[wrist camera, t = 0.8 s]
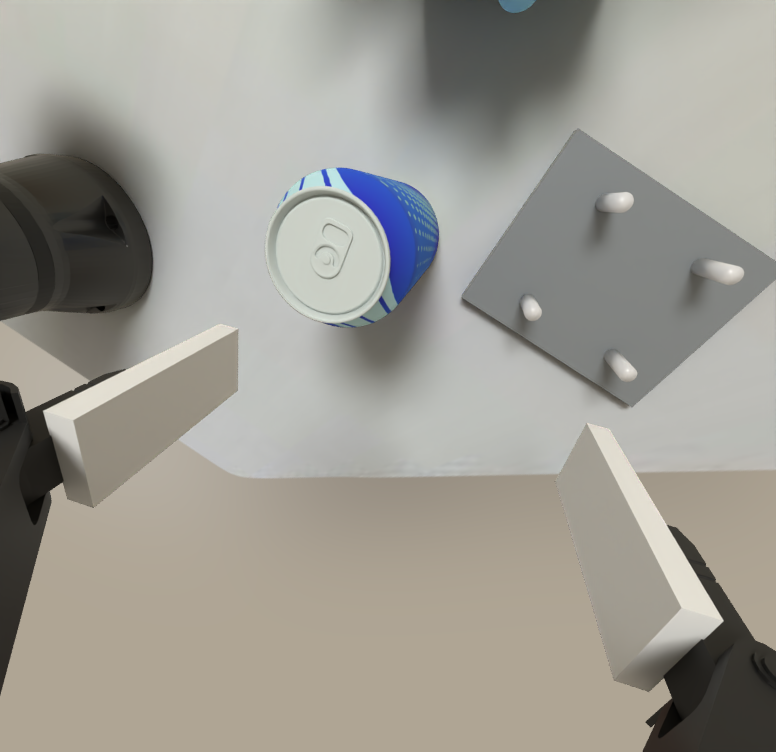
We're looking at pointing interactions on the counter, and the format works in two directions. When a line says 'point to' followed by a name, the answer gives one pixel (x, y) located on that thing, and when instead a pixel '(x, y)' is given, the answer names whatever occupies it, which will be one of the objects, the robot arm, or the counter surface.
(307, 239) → the beer can
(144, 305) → the counter surface
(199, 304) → the counter surface
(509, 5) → the teakettle
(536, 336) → the pegboard
